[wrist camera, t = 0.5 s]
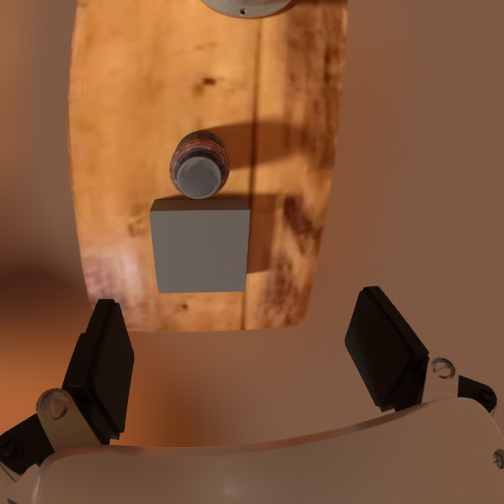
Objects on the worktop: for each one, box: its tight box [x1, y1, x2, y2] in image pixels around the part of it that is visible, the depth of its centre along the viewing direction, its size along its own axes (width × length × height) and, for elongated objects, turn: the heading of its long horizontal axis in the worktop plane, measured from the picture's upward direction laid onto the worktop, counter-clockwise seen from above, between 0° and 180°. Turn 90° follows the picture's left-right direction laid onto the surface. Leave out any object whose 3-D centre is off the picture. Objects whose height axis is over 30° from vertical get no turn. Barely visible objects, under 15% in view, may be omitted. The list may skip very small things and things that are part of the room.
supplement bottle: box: [170, 131, 229, 199], centre depth 30 cm, size 6×6×11 cm
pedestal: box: [150, 199, 250, 293], centre depth 39 cm, size 12×12×4 cm
